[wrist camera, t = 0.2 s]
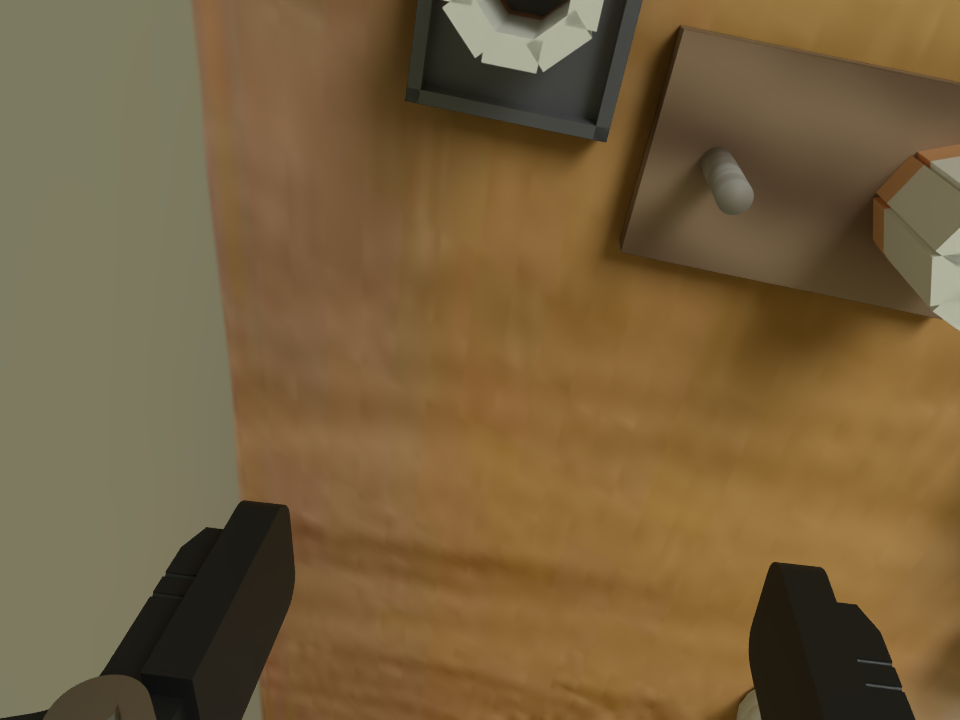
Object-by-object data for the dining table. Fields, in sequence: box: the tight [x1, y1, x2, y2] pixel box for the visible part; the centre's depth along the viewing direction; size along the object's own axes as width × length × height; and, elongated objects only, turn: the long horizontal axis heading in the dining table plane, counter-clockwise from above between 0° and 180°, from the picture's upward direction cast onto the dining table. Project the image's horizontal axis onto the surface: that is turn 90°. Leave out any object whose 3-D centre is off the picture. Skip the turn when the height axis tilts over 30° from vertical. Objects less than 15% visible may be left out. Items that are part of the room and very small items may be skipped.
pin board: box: [620, 25, 960, 320], centre depth 34 cm, size 10×16×6 cm, turn 80°
